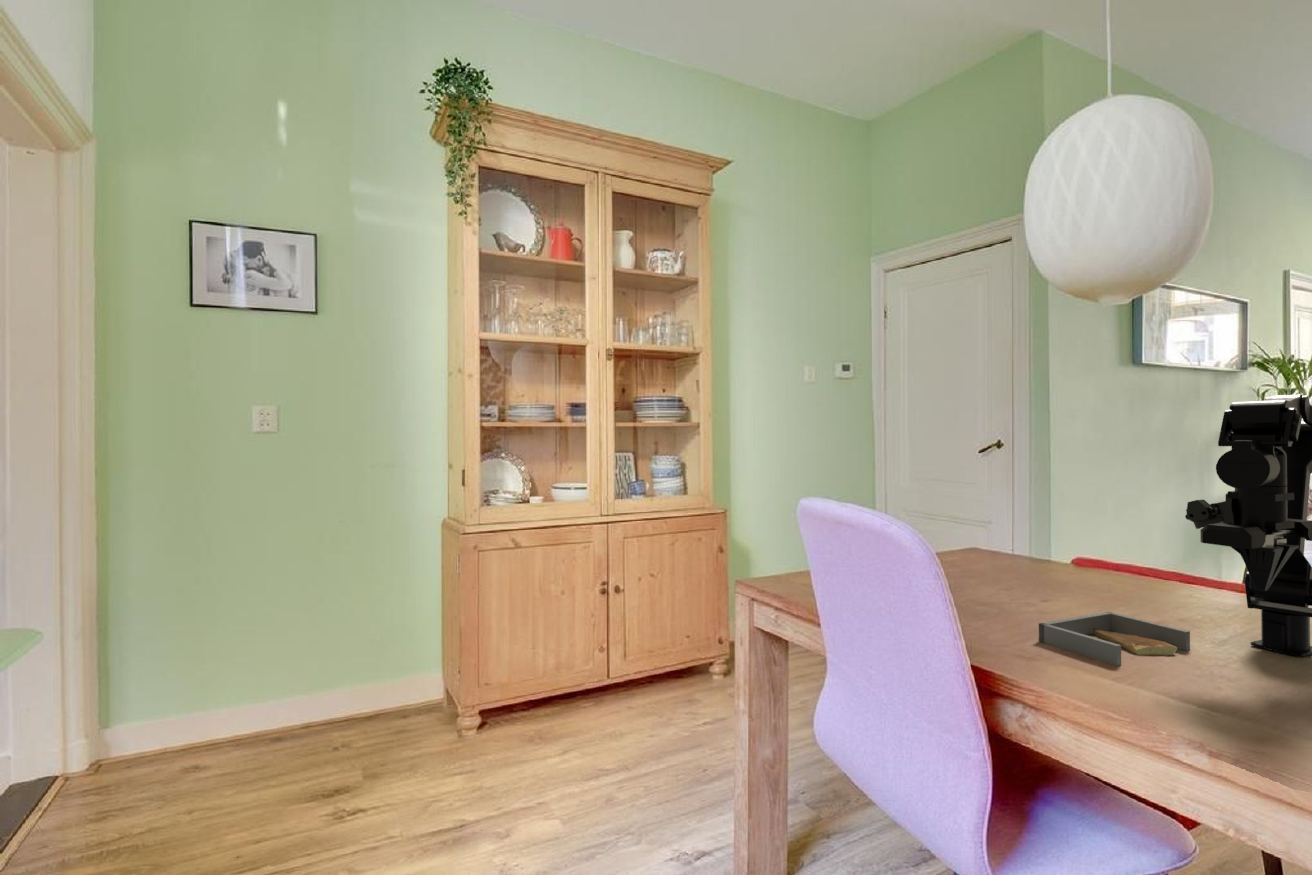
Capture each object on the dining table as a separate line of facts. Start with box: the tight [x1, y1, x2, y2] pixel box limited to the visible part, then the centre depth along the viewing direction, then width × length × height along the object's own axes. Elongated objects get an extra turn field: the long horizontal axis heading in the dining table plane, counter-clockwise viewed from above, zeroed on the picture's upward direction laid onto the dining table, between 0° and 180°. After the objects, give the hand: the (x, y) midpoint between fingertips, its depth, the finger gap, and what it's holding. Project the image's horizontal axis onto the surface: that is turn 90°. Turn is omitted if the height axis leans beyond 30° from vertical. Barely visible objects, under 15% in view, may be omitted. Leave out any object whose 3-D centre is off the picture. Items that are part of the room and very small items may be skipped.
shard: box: [1093, 629, 1178, 656], centre depth 109 cm, size 11×8×2 cm
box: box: [1038, 611, 1191, 666], centre depth 108 cm, size 18×13×3 cm
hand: (1261, 590), depth 96 cm, fingers closed
